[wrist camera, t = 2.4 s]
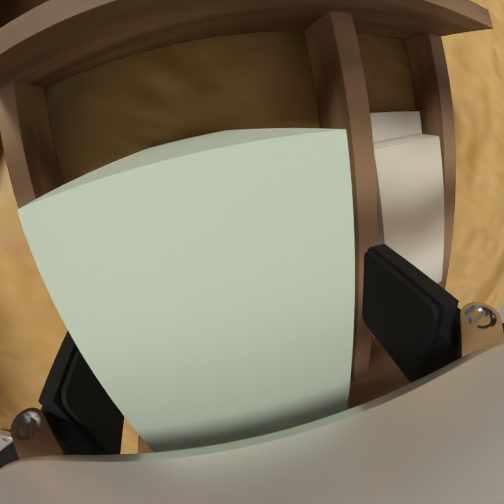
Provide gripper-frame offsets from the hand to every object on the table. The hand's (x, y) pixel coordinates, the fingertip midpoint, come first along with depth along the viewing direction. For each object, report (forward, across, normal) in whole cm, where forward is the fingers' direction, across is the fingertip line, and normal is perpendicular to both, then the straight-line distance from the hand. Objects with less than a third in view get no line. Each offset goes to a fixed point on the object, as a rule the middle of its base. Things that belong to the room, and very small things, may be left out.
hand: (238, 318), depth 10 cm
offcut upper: (+7, -11, +1) cm, 13 cm away
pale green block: (+8, +1, 0) cm, 8 cm away
